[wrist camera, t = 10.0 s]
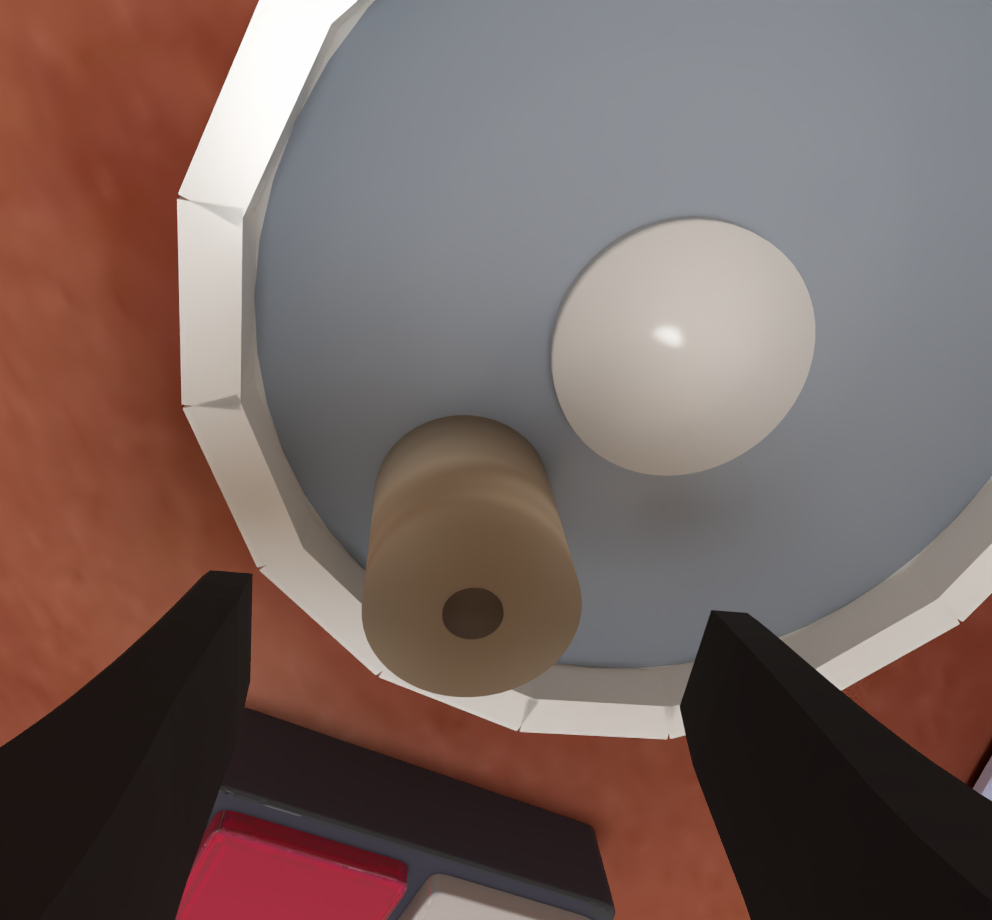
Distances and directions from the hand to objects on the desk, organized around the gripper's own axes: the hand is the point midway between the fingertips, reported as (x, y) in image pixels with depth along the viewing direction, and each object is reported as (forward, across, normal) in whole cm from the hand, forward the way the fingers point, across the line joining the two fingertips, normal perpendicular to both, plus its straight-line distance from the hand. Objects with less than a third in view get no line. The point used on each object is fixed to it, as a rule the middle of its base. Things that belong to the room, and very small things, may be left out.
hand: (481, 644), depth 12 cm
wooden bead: (+5, 0, 0) cm, 5 cm away
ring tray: (+5, -4, -4) cm, 7 cm away
